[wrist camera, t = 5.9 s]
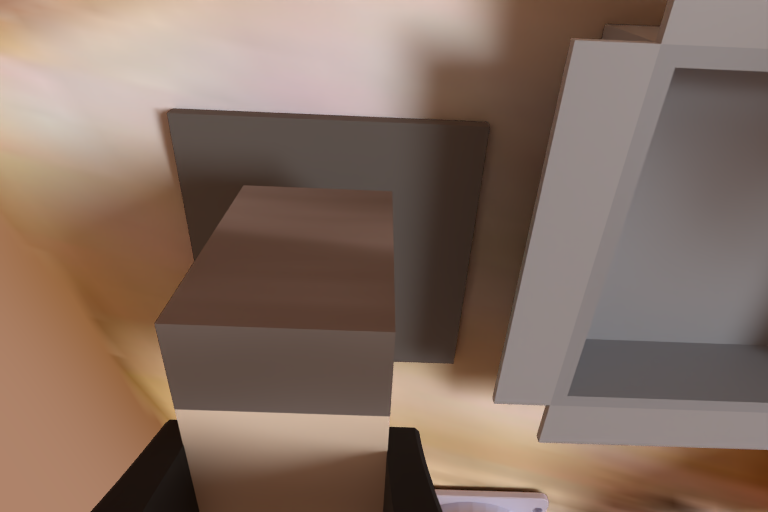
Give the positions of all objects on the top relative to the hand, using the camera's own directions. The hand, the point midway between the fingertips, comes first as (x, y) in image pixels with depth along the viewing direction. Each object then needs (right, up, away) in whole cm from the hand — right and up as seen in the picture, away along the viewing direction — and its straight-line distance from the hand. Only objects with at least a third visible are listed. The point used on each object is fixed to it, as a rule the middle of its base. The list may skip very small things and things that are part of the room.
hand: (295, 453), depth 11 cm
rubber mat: (0, +5, +7) cm, 9 cm away
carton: (+14, +6, +7) cm, 17 cm away
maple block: (0, +3, +4) cm, 5 cm away
